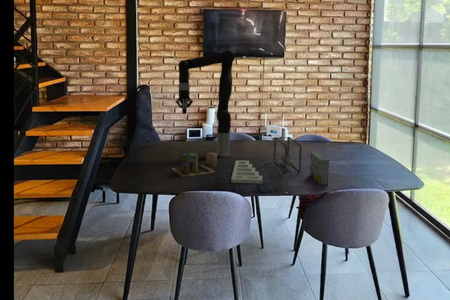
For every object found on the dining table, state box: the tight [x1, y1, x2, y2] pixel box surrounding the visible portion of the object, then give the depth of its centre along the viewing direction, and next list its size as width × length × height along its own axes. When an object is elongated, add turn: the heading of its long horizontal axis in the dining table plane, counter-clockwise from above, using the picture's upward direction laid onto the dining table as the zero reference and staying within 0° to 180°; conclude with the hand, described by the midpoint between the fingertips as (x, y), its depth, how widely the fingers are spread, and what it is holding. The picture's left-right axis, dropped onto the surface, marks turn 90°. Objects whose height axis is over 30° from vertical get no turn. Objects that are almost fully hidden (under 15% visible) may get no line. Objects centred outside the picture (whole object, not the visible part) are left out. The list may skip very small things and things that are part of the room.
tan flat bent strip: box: [171, 164, 217, 179], centre depth 281 cm, size 22×20×1 cm
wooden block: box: [205, 152, 218, 168], centre depth 296 cm, size 7×7×8 cm
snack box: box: [309, 151, 330, 186], centre depth 263 cm, size 21×6×15 cm, turn 5°
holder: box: [230, 160, 263, 185], centre depth 279 cm, size 45×18×3 cm, turn 175°
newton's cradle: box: [273, 136, 302, 173], centre depth 292 cm, size 30×10×18 cm, turn 7°
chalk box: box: [181, 148, 199, 175], centre depth 279 cm, size 9×9×15 cm
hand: (184, 113), depth 316 cm, fingers closed
